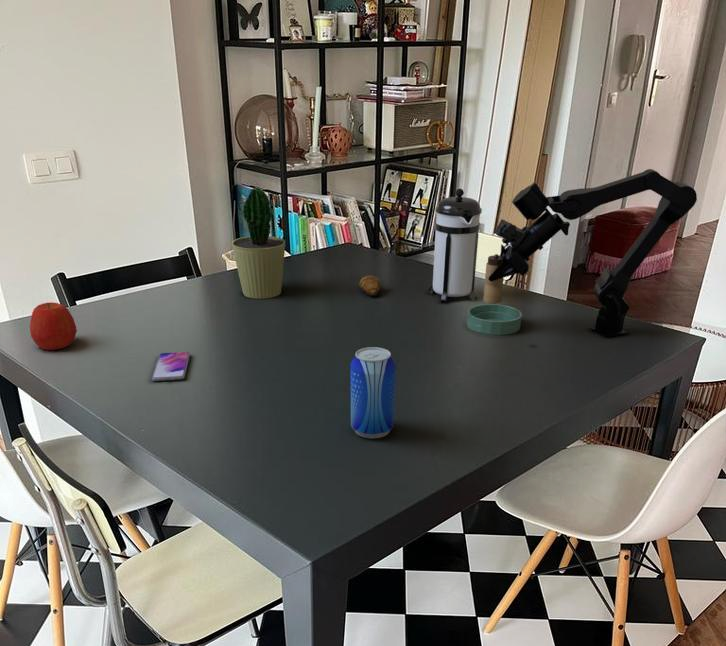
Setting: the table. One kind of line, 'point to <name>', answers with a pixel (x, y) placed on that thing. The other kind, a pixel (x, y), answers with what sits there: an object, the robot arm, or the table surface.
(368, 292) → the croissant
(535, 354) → the table surface
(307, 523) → the table surface
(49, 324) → the apple
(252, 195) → the potted cactus
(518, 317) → the bowl
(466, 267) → the coffee press
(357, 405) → the beer can
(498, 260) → the pepper mill
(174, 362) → the smartphone
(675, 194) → the robot arm
